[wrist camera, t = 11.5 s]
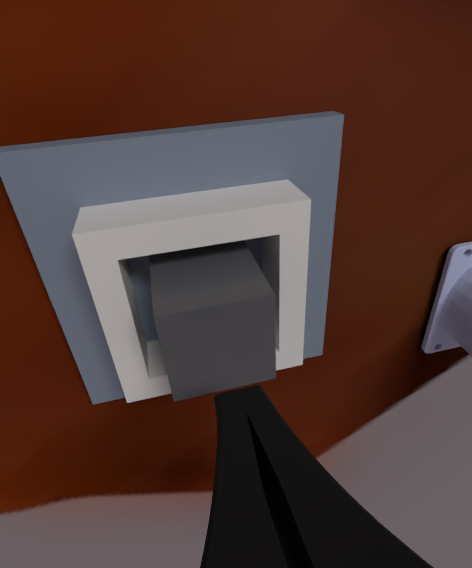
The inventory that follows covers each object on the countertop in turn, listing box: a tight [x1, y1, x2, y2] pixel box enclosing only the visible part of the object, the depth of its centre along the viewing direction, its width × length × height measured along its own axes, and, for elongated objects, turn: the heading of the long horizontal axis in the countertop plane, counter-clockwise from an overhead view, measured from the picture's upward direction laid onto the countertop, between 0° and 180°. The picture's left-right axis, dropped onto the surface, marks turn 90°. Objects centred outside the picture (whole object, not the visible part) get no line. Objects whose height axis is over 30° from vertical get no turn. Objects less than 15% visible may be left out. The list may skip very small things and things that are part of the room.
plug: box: [149, 240, 276, 402], centre depth 15 cm, size 4×4×5 cm
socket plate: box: [0, 111, 344, 404], centre depth 17 cm, size 13×13×4 cm
